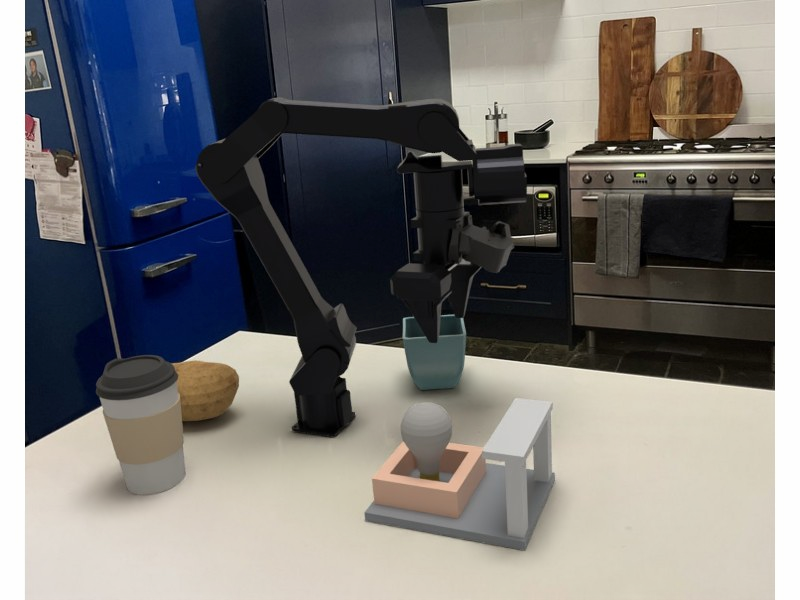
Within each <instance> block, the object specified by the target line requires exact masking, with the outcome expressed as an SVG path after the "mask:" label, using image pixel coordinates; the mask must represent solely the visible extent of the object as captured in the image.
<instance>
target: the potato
mask: <svg viewBox="0 0 800 600" xmlns="http://www.w3.org/2000/svg"><path fill="white" fill-rule="evenodd" d="M170 363H171V364H172V365H174V367H175V371H176V372H177V374H178V379H177V388H178V393H179V394H180V403H181V414H182V422H200V421H204V420H209V419H214V418H217V417H219V416H220V415H222V414H224V413H225V412H226V411H227V410H228V409H229V407H230V406H232V404H233V401H234V400H235V397H236V395H237V392H238V390H239V388H240V376H239V374H238V372H237V370H236V369H235V368H233V367H231V366H230V365H228V364H225V363H221V362H211V361H209V362H208V361H203V360H195V359H194V360H187V361H183V362H182V361H181V362H173V363H172V362H170Z"/></svg>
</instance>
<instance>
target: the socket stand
mask: <svg viewBox="0 0 800 600" xmlns="http://www.w3.org/2000/svg"><path fill="white" fill-rule="evenodd" d="M553 403H554V402H553V401H547V400H539V399H538V400H537V399H529V398H521V397H515V398H514V400H513V402H512V403H511V404H510V406H509V408H508V409H507V411H506V412H505V414H504V415H503V417H502V419H501V421H500V422H499V423H498V425H497V427H496V428H495V430H494V431H493V433H492V434H491V436H490V437H489V439H488V440H487V442H486V444H485V445H484V446H483V447H482V446H478V445H477V446H476V445H468V444H462V443H461V444H460V443H455V442H449V444H448V445H447V447H446V449H445V450H444V452H443V454H442V456H441V458H440V462H439V465H440V470H439V480H440V482H439V481H432V480H426V479H420V472H419V467H418V461H417V459H416V458H415V456H414V455H413V454H412V452H411V451H410V450H409V449H408V447H407V446H406V444H405V443H404V441H403V440H402V442H401V443H400V445H398V447H397V448H396V449H395V450H394V451H393V453H392V454H391V455H390V456H389V457H388V458H387V460H385V462H384V463H383V464H382V466H381V467H380V468H379V469H378V471H377V472H376V473H375V474H374V475H373V476H372V478H371V482H372V483H371V486H372V492H373V494H372V495H373V501H372V502H371V503H370V505H369V506H368V507H367V509H366V510H365V511H364V513H363V514H364V520H365V522H371V523H376V524H381V525H388V526H392V527H398V528H403V529H407V530H413V531H417V532H424V533H428V534H429V533H430V534H435V535H439V536H440V535H441V536H446V537H451V538H456V539H461V540H462V539H463V540H466V541H472V542H477V543H483V544H488V545H493V546H499V547H504V548H510V549H514V550H518V551H519V550H520V551H526V549H527V547H528V545H529V543H530V540H531V538H532V536H533V533H534V531H535V528H536V526H537V524H538V521H539V520H540V517H541V514H542V512H543V510H544V507H545V505H546V503H547V501H548V498H549V496H550V493H551V491H552V488H553V487H554V484H555V482H556V473H555V472H553V464H552V463H553V461H552V460H553V459H552V458H553V455H552V454H553V453H552V448H553V447H552V411H553V408H554V407H553ZM532 450H533V452H532V456H533V469H530V468H527V459H528V457H529V456H530V454H531V451H532ZM487 460H488V461H489V460H490V461H496V462H503V463H504V465H502V464H496V463H489V462H487Z"/></svg>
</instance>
